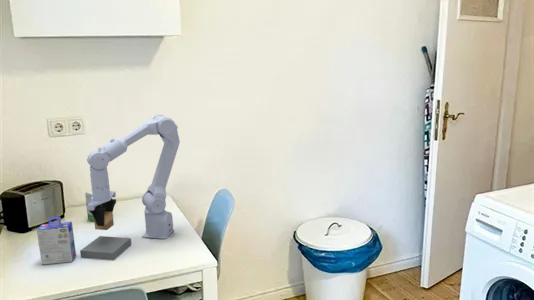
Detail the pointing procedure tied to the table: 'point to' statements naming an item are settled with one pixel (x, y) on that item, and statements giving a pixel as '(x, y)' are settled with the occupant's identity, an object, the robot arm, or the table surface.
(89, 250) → the gray square plate
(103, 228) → the wooden block
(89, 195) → the white cardboard box
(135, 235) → the table surface
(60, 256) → the ink cartridge box
